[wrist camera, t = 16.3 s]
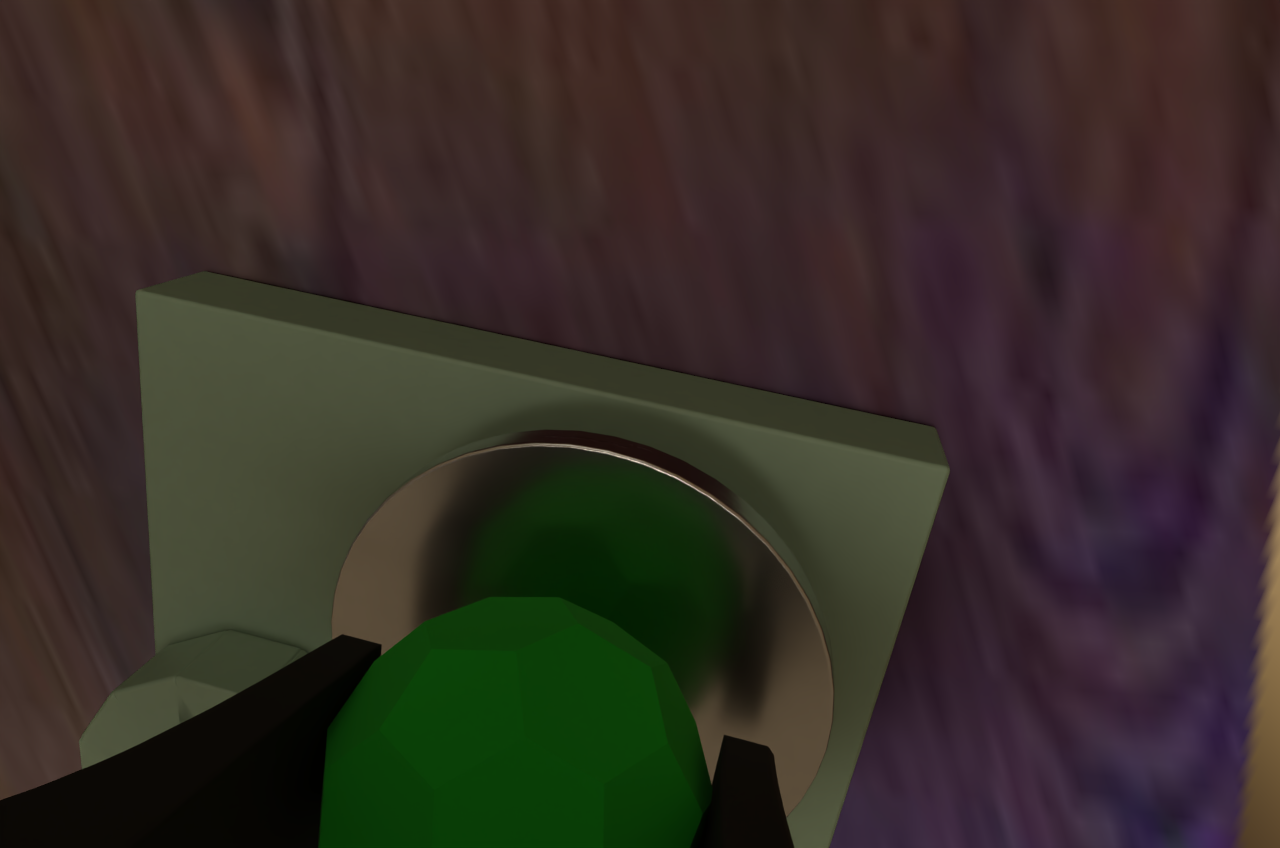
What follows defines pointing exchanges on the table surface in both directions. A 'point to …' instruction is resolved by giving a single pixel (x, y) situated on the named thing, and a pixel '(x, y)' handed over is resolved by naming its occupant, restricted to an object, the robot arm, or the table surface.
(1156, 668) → the table surface
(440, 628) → the polyhedron
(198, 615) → the scale
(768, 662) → the brushed metal disc
